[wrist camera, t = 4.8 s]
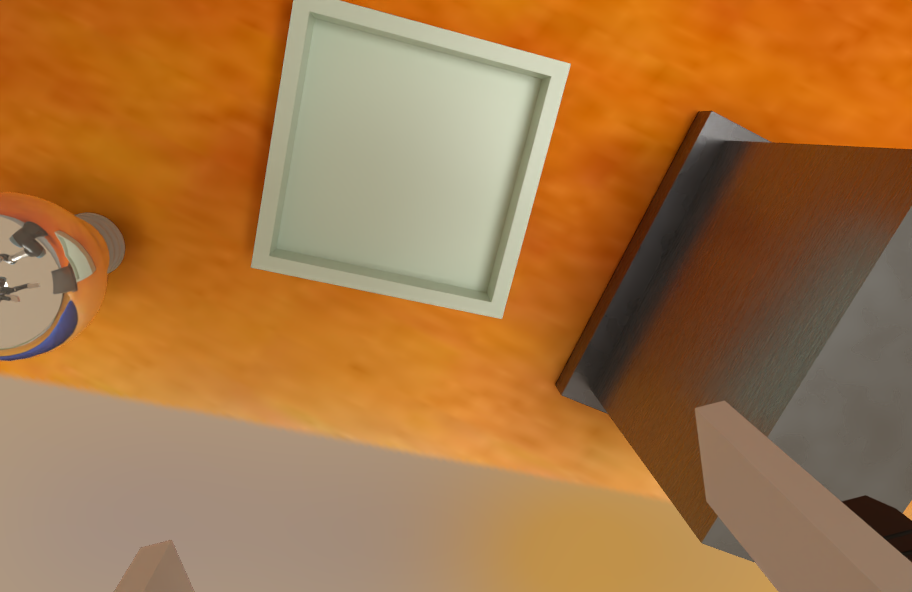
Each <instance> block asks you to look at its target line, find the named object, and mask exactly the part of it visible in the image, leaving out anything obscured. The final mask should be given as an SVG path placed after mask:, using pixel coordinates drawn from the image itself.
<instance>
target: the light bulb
mask: <svg viewBox="0 0 912 592" xmlns="http://www.w3.org/2000/svg"><path fill="white" fill-rule="evenodd" d="M124 254H125V242H124V238H123V235H122V233H121V232H120V230H119V229H118V228H117V226H116V225H115V224H114V223H113V222H112V221H110V220H109V219H108V218H106V217H104V216H102V215H99V214H95V213H80V214H77V215H74V214H72V213H71V212H69V211H68V210H66V209H64V208H63V207H61V206H59V205H57V204H55V203H53V202H50V201H48V200H45V199H43V198H40V197H36V196H33V195H28V194H23V193H19V192H0V361H13V360H20V359H26V358H32V357H38V356H40V355H43V354H46V353H48V352H51V351H53V350H56V349H58V348H60V347H62V346H64V345H65V344H67V343H68V342H70V341H72V340H73V339H75V338H76V337H77V336H78V335H79V334H80V333H81V332H82V331H83V330H84V329H85V328H86V327H87V326H88V325H89V324H90V323H91V322H92V321H93V319H94V318H95V316H96V315H97V313H98V311H99V310H100V307H101V305H102V302H103V299H104V297H105V294H106V290H107V281H108V275H107V274H108V273H110V272H112V271H113V270H115V269H116V268H117V267H118V266H119V265H120V264H121V262H122V260H123V258H124Z"/></svg>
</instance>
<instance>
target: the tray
mask: <svg viewBox="0 0 912 592" xmlns="http://www.w3.org/2000/svg"><path fill="white" fill-rule="evenodd" d="M570 65H571V64H569V63H566V62H562V61H559V60H555V59H551V58H548V57H544V56H540V55H537V54H533V53H529V52H526V51H522V50H518V49H515V48H511V47H507V46H504V45H500V44H497V43H493V42H489V41H486V40H482V39H478V38H475V37H471V36H467V35H464V34H460V33H456V32H453V31H449V30H446V29H442V28H438V27H435V26H431V25H427V24H424V23H420V22H416V21H413V20H409V19H405V18H402V17H398V16H395V15H391V14H387V13H384V12H380V11H376V10H373V9H369V8H365V7H362V6H358V5H354V4H351V3H347V2H343V1H340V0H293V5H292V12H291V18H290V24H289V30H288V37H287V43H286V49H285V56H284V62H283V68H282V75H281V81H280V87H279V94H278V100H277V106H276V112H275V119H274V125H273V131H272V138H271V144H270V150H269V157H268V163H267V169H266V175H265V182H264V188H263V194H262V201H261V207H260V213H259V220H258V226H257V232H256V239H255V245H254V251H253V257H252V264H251V268H256V269H261V270H265V271H270V272H275V273H280V274H285V275H290V276H295V277H300V278H304V279H309V280H314V281H319V282H324V283H329V284H334V285H339V286H343V287H348V288H353V289H358V290H363V291H368V292H373V293H378V294H383V295H387V296H392V297H397V298H402V299H407V300H412V301H417V302H422V303H426V304H431V305H436V306H441V307H446V308H451V309H456V310H461V311H465V312H470V313H475V314H480V315H485V316H490V317H495V318H500V319H502V317H503V313H504V310H505V306H506V302H507V298H508V295H509V291H510V287H511V284H512V280H513V276H514V273H515V269H516V265H517V261H518V258H519V254H520V250H521V247H522V243H523V239H524V236H525V232H526V228H527V224H528V221H529V217H530V213H531V210H532V206H533V202H534V198H535V195H536V191H537V187H538V184H539V180H540V176H541V173H542V169H543V165H544V161H545V158H546V154H547V150H548V147H549V143H550V139H551V136H552V132H553V128H554V124H555V121H556V117H557V113H558V110H559V106H560V102H561V99H562V95H563V91H564V87H565V84H566V80H567V76H568V73H569V69H570Z"/></svg>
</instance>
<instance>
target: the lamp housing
mask: <svg viewBox="0 0 912 592" xmlns="http://www.w3.org/2000/svg"><path fill="white" fill-rule="evenodd" d="M556 387H557V389H558V390H559V392H560V394H561V395H562V396H565V397H567V398H570V399H572V400H575V401H577V402H580V403H582V404H585V405H587V406H590V407H592V408H595V409H597V410H600V411H602V412H605V413H607V414H609V416H610V417H611V419H612V420H613V421H614V423H615V424H616V425H617V427H618V428H619V430H620V431H621V432H622V434H623V435H624V437H625V438H626V439H627V441H628V442H629V443H630V445H631V446H632V448H633V449H634V450H635V452H636V453H637V455H638V456H639V457H640V459H641V460H642V461H643V463H644V464H645V466H646V467H647V468H648V470H649V471H650V473H651V474H652V475H653V477H654V478H655V480H656V481H657V482H658V484H659V485H660V486H661V488H662V489H663V491H664V492H665V493H666V495H667V496H668V498H669V499H670V500H671V502H672V503H673V504H674V506H675V507H676V508H677V510H678V511H679V513H680V514H681V515H682V517H683V518H684V520H685V521H686V522H687V524H688V525H689V527H690V528H691V529H692V531H693V532H694V534H695V535H696V536H697V538H698V539H699V540H700V542H701V543H703V544H706V545H708V546H711V547H714V548H716V549H719V550H722V551H725V552H727V553H730V554H733V555H736V556H739V557H742V558H745V559H747V560H750V561H752V562H754V560H753V559H752V558H751V557H750V555H749V554H748V553H747V552H746V550H745V549H744V548H743V547H742V545H741V544H740V543H739V542H738V540H737V539H736V538H735V537H734V535H733V534H732V533H731V532H730V530H729V529H728V528H727V527H726V525H725V524H724V523H723V522H722V520H721V519H720V518H719V517H718V515H717V514H716V513H715V512H714V510H713V509H712V508H711V507H710V505H709V504H708V503H707V502H706V495H705V487H704V479H703V471H702V463H701V455H700V447H699V439H698V431H697V423H696V416H695V408H697V407H701V406H705V405H709V404H713V403H717V402H721V401H726V402H727V403H728V404H729V405H730V406H731V407H733V408H734V409H735V410H736V411H737V412H738V413H740V414H741V415H742V416H743V417H744V418H745V419H746V420H748V421H749V422H750V423H751V424H752V425H753V426H755V427H756V428H757V429H758V430H759V431H760V432H762V433H763V434H764V435H765V436H766V437H767V438H768V439H770V440H771V441H772V442H773V443H774V444H775V445H777V446H778V447H779V448H780V449H781V450H782V451H783V452H785V453H786V454H787V455H788V456H789V457H790V458H792V459H793V460H794V461H795V462H796V463H797V464H798V465H800V466H801V467H802V468H803V469H804V470H805V471H807V472H808V473H809V474H810V475H811V476H812V477H813V478H815V479H816V480H817V481H818V482H819V483H820V484H822V485H823V486H824V487H825V488H826V489H827V490H829V491H830V492H831V493H832V494H833V495H834V496H835V497H837V498H838V499H839V500H840V501H845V500H849V499H853V498H857V497H860V496H864V495H866V496H869V497H871V498H873V499H876V500H878V501H880V502H882V503H885V504H887V505H889V506H891V507H894V508H896V509H897V510H899V511H900V512H901V513H903V512H904V510H905V509H906V507H907V506H908V505H909V503H910V502H911V500H912V149H893V148H873V147H852V146H832V145H811V144H791V143H772V142H770V141H768V140H766V139H764V138H762V137H760V136H758V135H756V134H755V133H753V132H751V131H749V130H747V129H745V128H743V127H741V126H739V125H738V124H736V123H734V122H732V121H730V120H728V119H726V118H724V117H722V116H720V115H719V114H717V113H715V112H713V111H701V112H698V114H697V116H696V118H695V120H694V122H693V124H692V126H691V127H690V129H689V131H688V133H687V135H686V137H685V139H684V141H683V143H682V145H681V147H680V148H679V150H678V152H677V154H676V156H675V158H674V160H673V162H672V164H671V166H670V168H669V169H668V171H667V173H666V175H665V177H664V179H663V181H662V183H661V185H660V187H659V188H658V190H657V192H656V194H655V196H654V198H653V200H652V202H651V204H650V206H649V208H648V209H647V211H646V213H645V215H644V217H643V219H642V221H641V223H640V225H639V227H638V229H637V230H636V232H635V234H634V236H633V238H632V240H631V242H630V244H629V246H628V248H627V249H626V251H625V253H624V255H623V257H622V259H621V261H620V263H619V265H618V267H617V269H616V270H615V272H614V274H613V276H612V278H611V280H610V282H609V284H608V286H607V288H606V290H605V291H604V293H603V295H602V297H601V299H600V301H599V303H598V305H597V307H596V309H595V310H594V312H593V314H592V316H591V318H590V320H589V322H588V324H587V326H586V328H585V330H584V331H583V333H582V335H581V337H580V339H579V341H578V343H577V345H576V347H575V349H574V351H573V352H572V354H571V356H570V358H569V360H568V362H567V364H566V366H565V368H564V370H563V371H562V373H561V375H560V377H559V379H558V381H557V383H556Z"/></svg>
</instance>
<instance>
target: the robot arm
mask: <svg viewBox="0 0 912 592" xmlns="http://www.w3.org/2000/svg"><path fill="white" fill-rule="evenodd" d="M695 416H696V423H697V431H698V439H699V447H700V455H701V463H702V471H703V479H704V487H705V495H706V502H707V503H708V504H709V505H710V507H711V508H712V509H713V510H714V512H715V513H716V514H717V515H718V517H719V518H720V519H721V520H722V522H723V523H724V524H725V525H726V527H727V528H728V529H729V530H730V532H731V533H732V534H733V535H734V537H735V538H736V539H737V540H738V542H739V543H740V544H741V545H742V547H743V548H744V549H745V550H746V552H747V553H748V554H749V555H750V557H751V558H752V559H753V560H754V562H755V563H756V564H757V565H758V566H759V568H760V569H761V570H762V572H763V573H764V574H765V575H766V576H767V578H768V579H769V580H770V582H771V583H772V584H773V585H774V587H775V588H776V589H777V590H778V591H779V592H912V521H911V520H910V519H909V518H907V517H906V516H905V515H904V514H902V513H901V512H900V511H899V510H897V509H896V508H894V507H891V506H889V505H887V504H885V503H882V502H880V501H878V500H876V499H873V498H871V497H869V496H866V495H864V496H860V497H857V498H853V499H849V500H845V501H840V500H839V499H838V498H837V497H835V496H834V495H833V494H832V493H831V492H830V491H829V490H827V489H826V488H825V487H824V486H823V485H822V484H820V483H819V482H818V481H817V480H816V479H815V478H813V477H812V476H811V475H810V474H809V473H808V472H807V471H805V470H804V469H803V468H802V467H801V466H800V465H798V464H797V463H796V462H795V461H794V460H793V459H792V458H790V457H789V456H788V455H787V454H786V453H785V452H783V451H782V450H781V449H780V448H779V447H778V446H777V445H775V444H774V443H773V442H772V441H771V440H770V439H768V438H767V437H766V436H765V435H764V434H763V433H762V432H760V431H759V430H758V429H757V428H756V427H755V426H753V425H752V424H751V423H750V422H749V421H748V420H746V419H745V418H744V417H743V416H742V415H741V414H740V413H738V412H737V411H736V410H735V409H734V408H733V407H731V406H730V405H729V404H728V403H727V402H726V401H721V402H717V403H713V404H709V405H705V406H701V407H697V408H695ZM114 592H195V591H194V589H193V587H192V585H191V582H190V580H189V578H188V576H187V573H186V571H185V569H184V567H183V564H182V562H181V560H180V557H179V555H178V553H177V551H176V548H175V546H174V544H173V542H172V540H169V541H165V542H161V543H157V544H153V545H149V546H145V547H141V548H140V550H139V551H138V553H137V555H136V556H135V558H134V559H133V561H132V563H131V564H130V566H129V568H128V569H127V571H126V573H125V574H124V576H123V577H122V579H121V581H120V582H119V584H118V586H117V587H116V589H115V591H114Z"/></svg>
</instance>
